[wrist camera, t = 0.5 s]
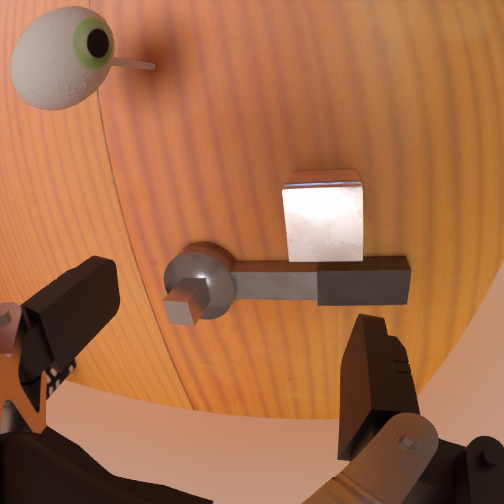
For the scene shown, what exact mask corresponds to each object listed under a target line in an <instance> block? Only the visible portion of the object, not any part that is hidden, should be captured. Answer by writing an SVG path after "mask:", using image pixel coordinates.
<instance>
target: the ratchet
mask: <svg viewBox="0 0 504 504" xmlns="http://www.w3.org/2000/svg"><path fill="white" fill-rule="evenodd" d="M410 277H411V268H410V265H409V263H408V261H407V258H406V256H385V257H363V261H321V262H289V261H236V260H235V259H234V257H233V256H232V255H231V254H230V253H229V252H228V251H227V250H225V249H224V248H222V247H220V246H219V245H216V244H213V243H210V242H196V243H193V244H190V245H189V246H187V247H186V248H185V249H184V250H183V251H181V252H180V253H179V254H178V255H177V256H176V257H175V258H174V259H173V260H172V261H171V262H170V263H169V264H168V266H167V268H166V270H165V273H164V285H165V289H166V291H167V294H168V295H167V296H166V297H165V298H164V299H163V300H162V301H163V304H164V307H165V310H166V313H167V316H168V320H169V323H170V324H178V325H188V326H195V324H196V323H197V321H198V319H215V318H218V317H220V316H222V315H223V314H225V313H226V312H227V311H228V309H229V308H230V306H231V304H232V302H233V300H234V299H271V300H318V305H320V306H349V305H405V304H407V300H408V293H409V285H410Z"/></svg>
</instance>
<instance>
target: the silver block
mask: <svg viewBox="0 0 504 504" xmlns="http://www.w3.org/2000/svg"><path fill="white" fill-rule="evenodd" d="M282 194H283V203H284V213H285V223H286V233H287V244H288V254H289V262H321V261H363V194H362V184H361V180H360V179H359V177H358V174H357V172H356V169H337V170H314V171H295V172H294V173H293V175H292V176H291V178H290V179H289V180H288V182H287V183H285V184H284V188H283V189H282Z"/></svg>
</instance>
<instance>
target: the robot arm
mask: <svg viewBox="0 0 504 504" xmlns="http://www.w3.org/2000/svg"><path fill="white" fill-rule="evenodd" d="M119 305H120V295H119V287H118V278H117V269H116V264H115V262H114V261H113V260H110V259H107V258H103V257H99V256H92V257H90V258H89V259H87V260H86V261H84V262H83V263H82V264H80V265H79V266H77V267H76V268H73V269H71V270H68V271H66V272H65V273H63V274H62V275H61V276H59V277H58V278H57V280H56V279H55V280H54V281H52V282H51V283H50V284H49V286H48V285H47V286H46V287H44V288H43V289H41V290H40V291H39V292H37V293H36V294H35V295H33V296H32V297H31V298H30V299H28V300H27V301H26V302H24V303H23V304H22V305H20V306H19V305H18V304H17V303H14V302H4V303H0V504H213V501H212V500H208V499H205V498H201V497H198V496H195V495H191V494H188V493H185V492H182V491H179V490H176V489H173V488H171V487H168V486H165V485H159V484H153V483H147V482H141V481H136V480H131V479H126V478H122V477H117V476H114V475H112V474H111V473H109V472H108V471H107V470H106V469H105V468H103V467H102V466H101V465H100V464H98V462H96V461H95V460H94V459H93V458H92V457H90V455H89V454H88V453H86V452H85V451H84V450H83V449H82V448H81V447H80V446H79V445H77V444H76V443H74V442H72V441H71V440H69V439H67V438H66V437H64V436H62V435H60V434H59V433H57V432H56V431H54V430H53V429H51V428H50V427H48V426H47V424H46V387H47V375H46V372H45V369H46V368H47V367H48V366H49V367H51V368H52V369H54V370H56V371H58V372H60V373H61V372H62V371H63V370H64V369H65V368H66V367H67V366H68V365H69V364H70V363H71V361H72V360H73V359H74V358H75V357H76V356H77V355H78V354H79V353H80V352H81V351H82V350H83V348H84V347H85V346H86V345H87V344H88V343H89V342H90V341H91V340H92V339H93V338H94V337H95V336H96V335H97V334H98V333H99V332H100V330H101V329H102V328H103V327H104V326H105V325H106V324H107V323H108V322H109V321H110V320H111V319H112V318H113V317H114V316H115V315H116V313H117V311H118V309H119ZM408 362H409V361H408V357H407V353H406V349H405V347H404V346H403V345H402V343H401V342H400V341H399V340H398V338H397V337H395V336H389V335H388V333H387V329H386V324H385V320H384V318H382V317H376V316H370V315H364V314H359V315H358V317H357V319H356V322H355V325H354V327H353V330H352V333H351V336H350V338H349V341H348V344H347V346H346V349H345V352H344V355H343V358H342V363H341V370H340V420H339V443H338V460H347V461H350V463H349V464H348V465H347V466H346V467H345V468H344V469H343V470H342V471H341V472H340V473H339V474H338V475H337V476H336V477H333V478H331V479H330V480H329V481H328V482H326V483H325V484H324V485H323V486H322V487H321V488H319V489H318V490H317V491H316V492H315V493H314V494H313V495H311V496H310V497H309V498H308V499H307V500H305V501H304V502H303V503H302V504H504V447H503V445H502V444H501V443H500V442H499V441H497V440H496V439H494V438H492V437H489V436H480V437H477V438H475V439H474V440H473V441H471V443H470V444H469V445H468V446H467V447H464V446H461V445H458V444H454V443H451V442H448V441H444V440H442V439H439V438H438V434H437V431H436V429H435V427H434V426H433V425H432V423H431V422H429V420H427V419H426V418H424V417H423V416H421V415H420V411H419V406H418V401H417V396H416V391H415V387H414V382H413V378H412V375H411V369H410V365H409V364H408Z"/></svg>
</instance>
